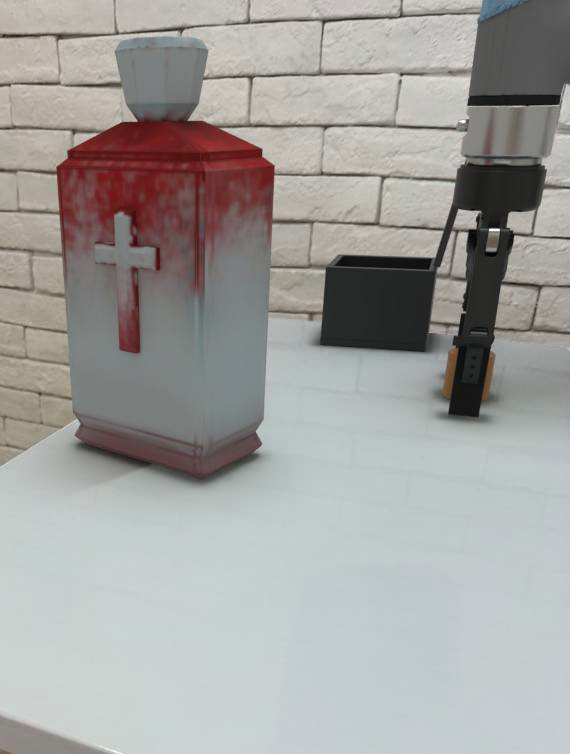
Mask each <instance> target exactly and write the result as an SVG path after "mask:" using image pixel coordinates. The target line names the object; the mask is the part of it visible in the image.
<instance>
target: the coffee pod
mask: <svg viewBox="0 0 570 754" xmlns="http://www.w3.org/2000/svg"><path fill="white" fill-rule="evenodd" d="M447 352H448V353H447V359H446V365H445V366H446V367H445V372H444V381H443V388H442V394H441V395H442V396H443V397H444V398H445V399H447V400H450V398H451V392H452V386H453V380H454V373H455V367H456V361H457V354H458V348H456V347H455V348H451V349H449V350H448V351H447ZM496 356H497V355H496V352H494V351H492V350H490V356H489V361H488V367H487V373H486V378H485V384H484V390H483V395H482V401H481V403H482V402H485V401H487V400H488V399H489V397H490V391H491V385H492V379H493V374H494V367H495V362H496Z"/></svg>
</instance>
